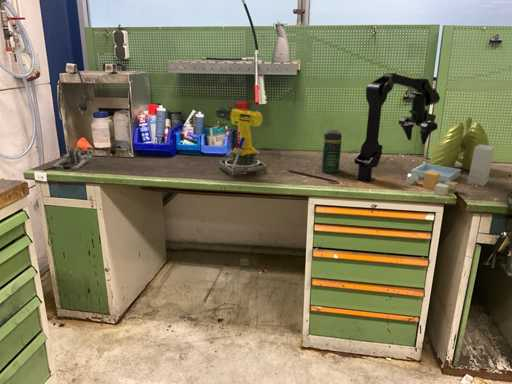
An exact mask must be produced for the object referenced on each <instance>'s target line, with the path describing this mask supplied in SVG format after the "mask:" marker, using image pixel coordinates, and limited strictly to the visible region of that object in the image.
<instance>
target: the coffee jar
mask: <svg viewBox="0 0 512 384" xmlns="http://www.w3.org/2000/svg"><path fill="white" fill-rule="evenodd" d="M342 135H343V134H342V132H340V131H339V130H337V129H329V130H327V131H325V132H324V133H323V143H322V144H323V145H322V156H321V157H322V158H321V159H322V160H321V172H322V173H323V172H324V173H328V174H336V173H338V172H339V171H340V161H341V151H342V150H341V149H342Z"/></svg>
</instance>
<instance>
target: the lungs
mask: <svg viewBox="0 0 512 384" xmlns="http://www.w3.org/2000/svg"><path fill="white" fill-rule="evenodd" d="M472 123H473V118H472V117H470V116H466V117H465V123H463V122H458V123H456V124H454V126H452V127H450V128H448V129H446V130H445V131H444V133H443V134H441V136H440V137H439V140H438V141H437V142H436V144H435V146H434V148H433V150H432V151H431V154H430V157H429V164H431V165H437V166H443V167H449V168H455V165H456V163H459V164H461V166H462V168H463V169H465V170H467V171H470V169H471V164H472V158H473V153H474V148H475V147H476V146H478V145H479V144H481V145H489V146H490V143H489V140H488V134H487V133H486V130H485V129H484V127H483V126H482V125H481V123H480V122H477V121H476V122H474V123H473V124H472ZM464 124H465V125H464Z"/></svg>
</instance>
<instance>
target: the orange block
mask: <svg viewBox="0 0 512 384" xmlns="http://www.w3.org/2000/svg"><path fill="white" fill-rule="evenodd" d="M439 177H440V173H438V172H432V171H428V172H426V173H425V175H424V179H423V183H422V188H424V189H429V190H434V189H435V185H437V184H438V183H440V182H439Z"/></svg>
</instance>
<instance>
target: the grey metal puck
mask: <svg viewBox="0 0 512 384" xmlns="http://www.w3.org/2000/svg"><path fill="white" fill-rule="evenodd" d="M419 179H420V178H419V174H416V173H411V172H409V173H407V176H406V184H407V185H410V186H418V183H419Z"/></svg>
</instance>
